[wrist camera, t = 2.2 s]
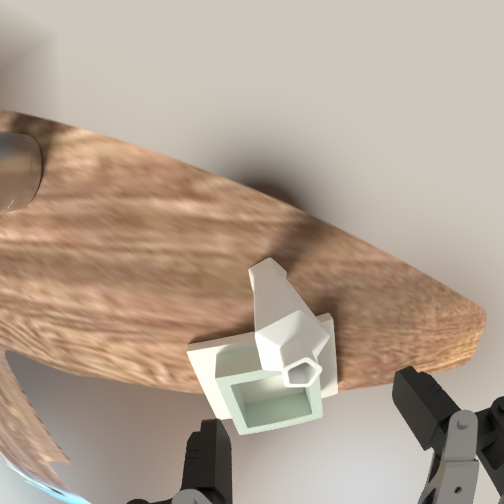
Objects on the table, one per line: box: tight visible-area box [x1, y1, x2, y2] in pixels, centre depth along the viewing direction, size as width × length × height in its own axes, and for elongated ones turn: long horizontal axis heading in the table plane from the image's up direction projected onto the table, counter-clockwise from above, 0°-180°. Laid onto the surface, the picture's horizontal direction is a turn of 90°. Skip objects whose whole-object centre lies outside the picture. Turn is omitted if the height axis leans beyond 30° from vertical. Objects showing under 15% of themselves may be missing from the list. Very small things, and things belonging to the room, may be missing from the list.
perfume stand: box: [187, 313, 338, 435], centre depth 28 cm, size 16×12×6 cm
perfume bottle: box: [249, 257, 330, 387], centre depth 20 cm, size 5×4×15 cm
